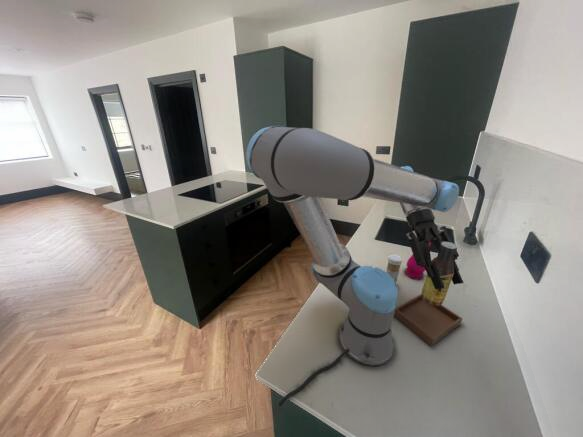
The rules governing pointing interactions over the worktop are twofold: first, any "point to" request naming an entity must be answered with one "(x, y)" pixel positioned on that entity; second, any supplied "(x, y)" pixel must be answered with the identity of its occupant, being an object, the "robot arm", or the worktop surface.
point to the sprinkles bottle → (394, 266)
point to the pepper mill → (414, 268)
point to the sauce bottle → (445, 272)
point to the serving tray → (427, 319)
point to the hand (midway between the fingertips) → (449, 285)
